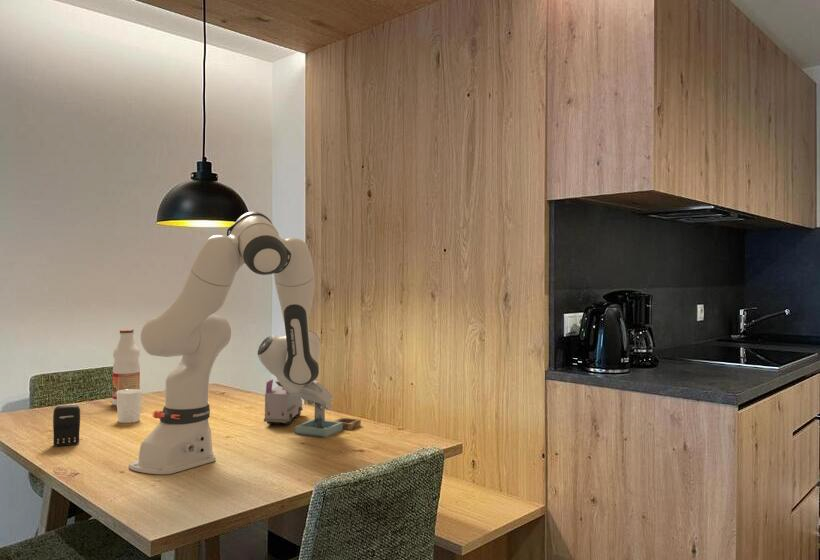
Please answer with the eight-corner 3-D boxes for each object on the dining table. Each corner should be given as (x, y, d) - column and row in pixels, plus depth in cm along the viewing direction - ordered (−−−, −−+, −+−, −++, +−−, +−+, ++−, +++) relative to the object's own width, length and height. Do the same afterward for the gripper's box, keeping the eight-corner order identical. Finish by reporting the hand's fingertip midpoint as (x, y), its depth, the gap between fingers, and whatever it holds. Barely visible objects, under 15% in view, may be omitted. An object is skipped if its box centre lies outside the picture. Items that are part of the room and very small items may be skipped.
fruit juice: (129, 407, 237) (130, 331, 237) (106, 405, 239) (107, 330, 239) (144, 402, 246) (145, 329, 246) (122, 400, 248) (123, 328, 248)
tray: (325, 437, 198) (326, 429, 198) (295, 434, 203) (295, 426, 203) (342, 430, 209) (342, 422, 209) (313, 426, 213) (313, 418, 213)
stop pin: (321, 432, 203) (322, 397, 203) (310, 430, 205) (310, 396, 204) (328, 429, 207) (329, 395, 207) (317, 427, 208) (317, 394, 208)
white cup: (141, 422, 214) (141, 392, 214) (115, 424, 211) (115, 393, 211) (141, 417, 221) (142, 388, 221) (116, 419, 218) (117, 389, 218)
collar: (351, 430, 209) (351, 424, 209) (332, 427, 211) (332, 421, 211) (360, 425, 215) (360, 419, 215) (342, 423, 218) (342, 417, 218)
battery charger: (52, 448, 182) (52, 407, 182) (52, 444, 185) (53, 405, 185) (80, 445, 185) (80, 405, 185) (79, 442, 189) (80, 403, 189)
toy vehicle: (304, 415, 229) (305, 373, 229) (288, 428, 210) (289, 382, 210) (279, 414, 230) (280, 372, 230) (261, 427, 211) (262, 381, 210)
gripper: (321, 374, 193) (346, 403, 200) (284, 366, 208) (309, 393, 215) (308, 391, 190) (334, 419, 197) (272, 381, 205) (297, 408, 212)
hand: (321, 405), depth 206 cm, fingers open, 8 cm apart
